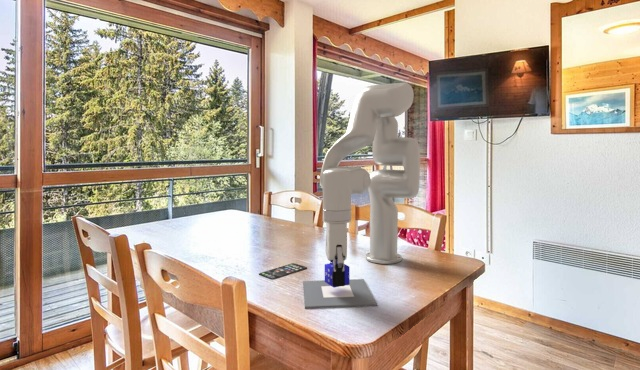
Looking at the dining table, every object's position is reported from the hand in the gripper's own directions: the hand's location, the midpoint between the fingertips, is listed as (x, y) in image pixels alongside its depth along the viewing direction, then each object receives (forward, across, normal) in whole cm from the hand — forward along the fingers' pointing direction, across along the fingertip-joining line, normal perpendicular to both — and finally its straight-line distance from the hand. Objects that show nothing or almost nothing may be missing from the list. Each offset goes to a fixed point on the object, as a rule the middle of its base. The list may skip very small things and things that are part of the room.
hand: (336, 280), depth 102 cm
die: (+1, 0, 0) cm, 1 cm away
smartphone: (+4, -20, -15) cm, 25 cm away
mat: (+4, 0, 0) cm, 4 cm away
